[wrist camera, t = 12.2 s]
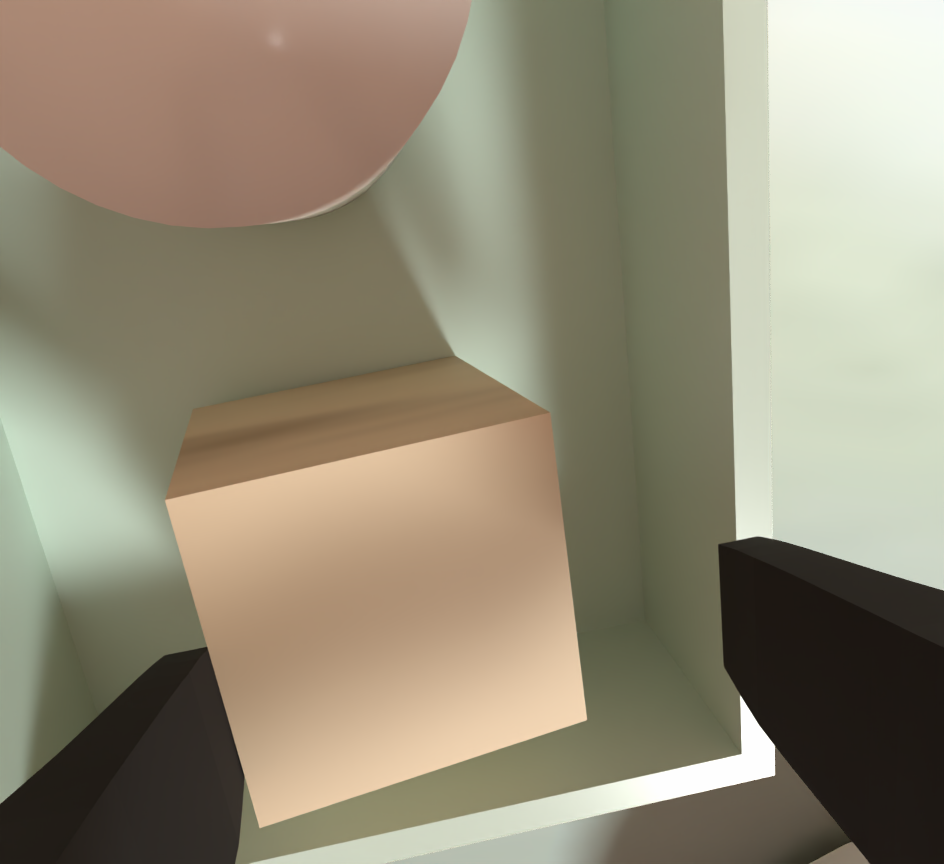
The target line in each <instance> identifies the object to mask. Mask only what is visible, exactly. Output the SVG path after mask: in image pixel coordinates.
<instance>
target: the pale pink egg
mask: <svg viewBox="0 0 944 864" xmlns="http://www.w3.org/2000/svg"><path fill="white" fill-rule="evenodd" d="M471 2H472V0H0V147H1V148H3V149H4V150H5V151H6V152H8V153H9V154H10V155H11V156H13V157H14V158H15V159H16V160H18V161H19V162H20V163H21V164H23V165H24V166H26V167H27V168H29V169H30V170H32V171H34V172H35V173H37V174H38V175H40V176H42V177H43V178H45V179H47V180H48V181H50V182H51V183H53V184H55V185H56V186H58V187H59V188H61V189H63V190H66V191H68V192H70V193H72V194H74V195H76V196H78V197H80V198H82V199H85V200H87V201H89V202H91V203H93V204H95V205H97V206H100V207H103V208H106V209H109V210H112V211H115V212H118V213H121V214H124V215H127V216H130V217H133V218H137V219H142V220H147V221H152V222H157V223H162V224H166V225H172V226H184V227H197V228H224V227H243V226H253V225H262V224H271V223H281V222H290V221H299V220H304V219H309V218H314V217H318V216H321V215H324V214H327V213H330V212H333V211H335V210H337V209H339V208H341V207H343V206H345V205H347V204H349V203H350V202H352V201H353V200H355V199H356V198H358V197H359V196H361V195H362V194H364V193H365V192H366V191H367V190H368V189H369V188H370V187H371V186H372V185H373V184H375V183H376V182H377V181H378V179H379V178H380V177H381V176H382V175H383V173H384V172H385V171H386V170H387V169H388V167H389V166H390V165H391V163H392V162H393V161H394V159H395V158H396V156H397V155H398V154H399V152H400V151H401V149H402V148H403V147H404V145H405V144H406V142H407V141H408V140H409V138H410V137H411V136H412V134H413V133H414V131H415V130H416V129H417V127H418V126H419V124H420V123H421V121H422V120H423V118H424V117H425V115H426V114H427V112H428V110H429V109H430V107H431V106H432V104H433V102H434V101H435V99H436V98H437V96H438V95H439V93H440V91H441V89H442V87H443V85H444V83H445V80H446V78H447V76H448V74H449V72H450V70H451V68H452V65H453V63H454V61H455V59H456V56H457V53H458V50H459V47H460V44H461V41H462V38H463V34H464V31H465V28H466V25H467V22H468V17H469V12H470V7H471Z"/></svg>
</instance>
